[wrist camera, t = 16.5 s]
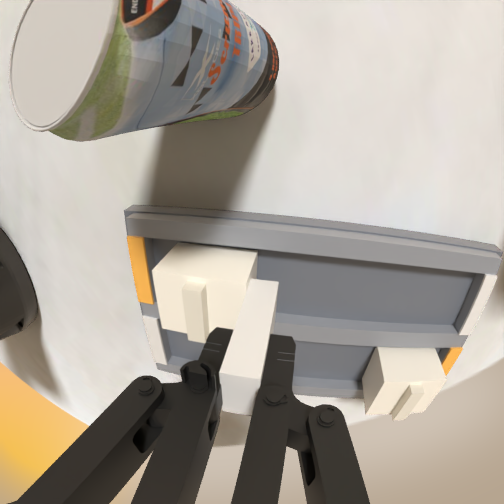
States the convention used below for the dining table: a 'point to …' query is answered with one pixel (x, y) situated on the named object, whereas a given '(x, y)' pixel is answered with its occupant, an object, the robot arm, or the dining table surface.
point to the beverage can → (136, 65)
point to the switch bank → (327, 288)
